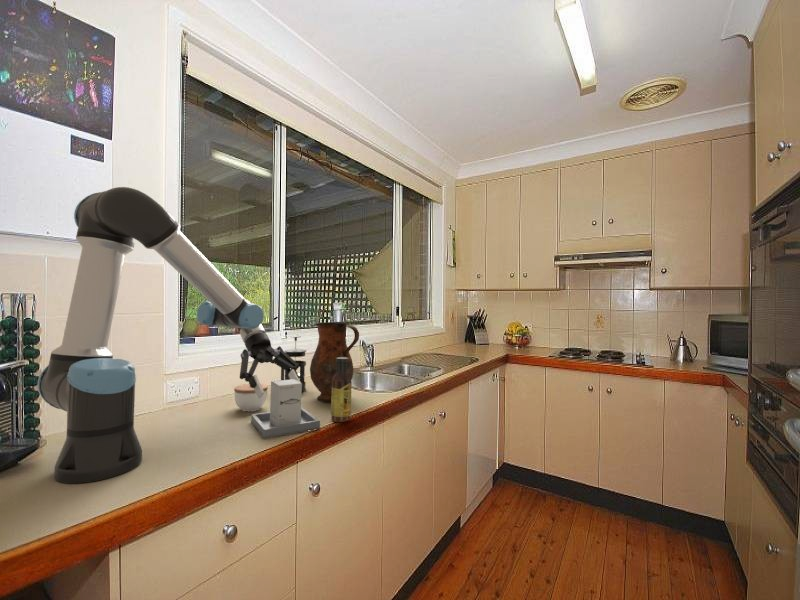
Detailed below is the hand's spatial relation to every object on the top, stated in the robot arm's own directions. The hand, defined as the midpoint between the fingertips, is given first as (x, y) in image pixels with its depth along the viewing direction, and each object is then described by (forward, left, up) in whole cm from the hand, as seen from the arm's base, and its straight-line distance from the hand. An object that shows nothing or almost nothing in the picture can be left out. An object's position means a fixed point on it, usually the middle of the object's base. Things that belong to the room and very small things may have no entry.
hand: (281, 391), depth 116 cm
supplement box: (+1, -3, -9) cm, 10 cm away
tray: (0, -3, -10) cm, 10 cm away
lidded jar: (-5, +20, -10) cm, 23 cm away
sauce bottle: (+17, -6, -10) cm, 21 cm away
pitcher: (+25, +17, -10) cm, 32 cm away
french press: (+16, +39, -10) cm, 43 cm away
